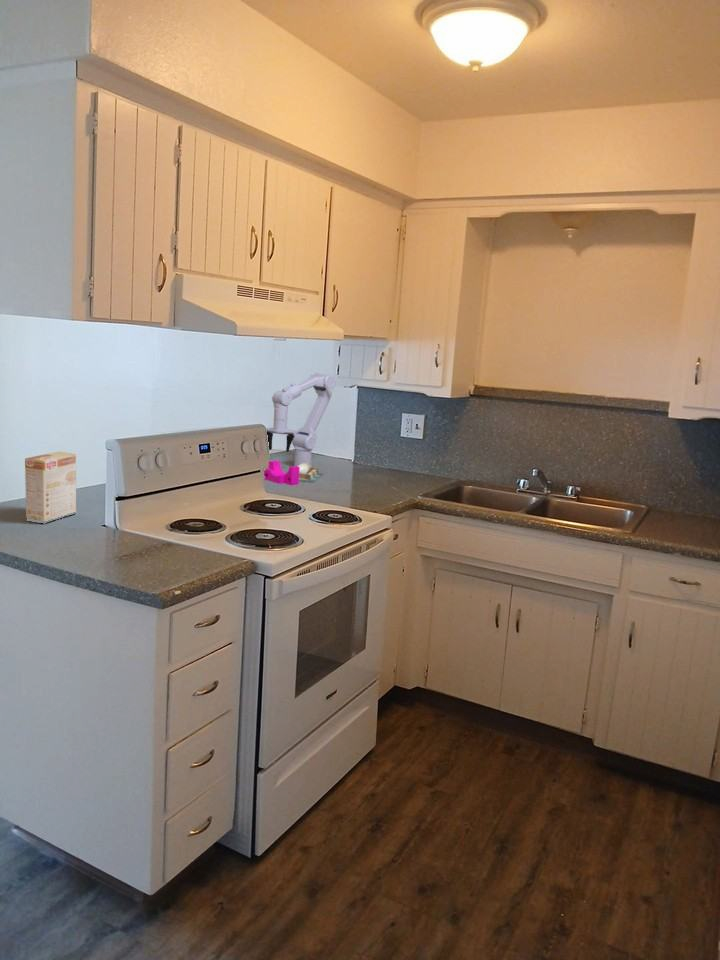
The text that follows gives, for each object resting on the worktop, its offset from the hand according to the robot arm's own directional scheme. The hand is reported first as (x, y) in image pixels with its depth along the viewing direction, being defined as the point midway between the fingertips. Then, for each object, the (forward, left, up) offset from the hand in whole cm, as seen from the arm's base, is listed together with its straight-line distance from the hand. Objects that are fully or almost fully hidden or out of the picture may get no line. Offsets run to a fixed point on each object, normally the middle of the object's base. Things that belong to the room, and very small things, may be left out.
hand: (278, 450), depth 333 cm
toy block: (+20, +7, -10) cm, 23 cm away
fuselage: (+5, +12, -9) cm, 16 cm away
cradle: (+5, +12, -9) cm, 16 cm away
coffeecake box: (+107, -43, -10) cm, 116 cm away
